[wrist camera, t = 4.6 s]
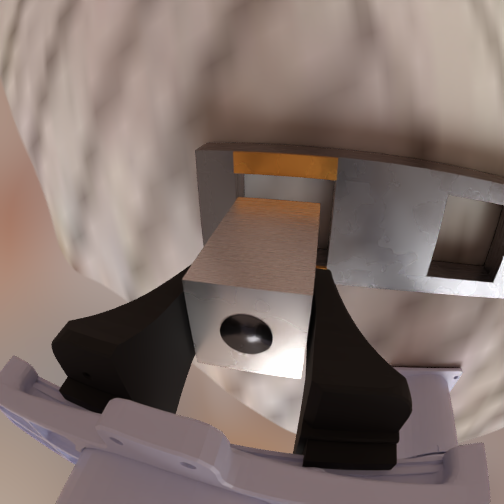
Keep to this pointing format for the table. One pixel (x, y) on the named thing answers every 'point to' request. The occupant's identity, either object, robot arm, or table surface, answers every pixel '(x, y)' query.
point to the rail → (367, 212)
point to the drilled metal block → (255, 287)
